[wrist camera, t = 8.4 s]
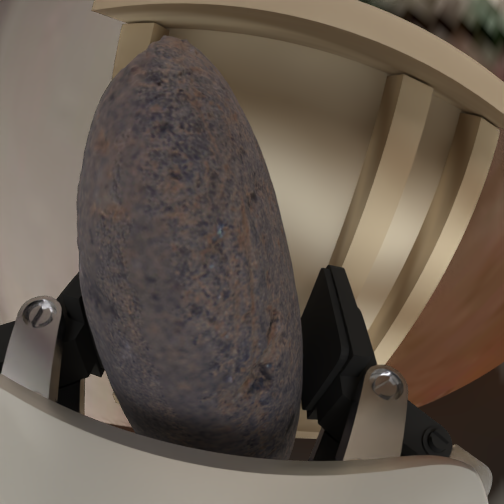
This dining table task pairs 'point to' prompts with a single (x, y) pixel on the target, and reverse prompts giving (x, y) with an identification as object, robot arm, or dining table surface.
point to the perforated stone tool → (188, 261)
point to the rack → (347, 137)
